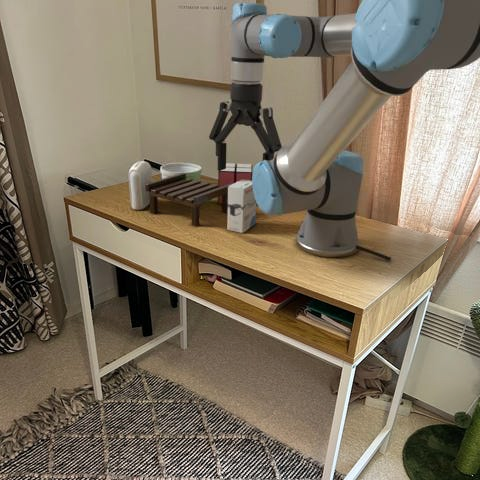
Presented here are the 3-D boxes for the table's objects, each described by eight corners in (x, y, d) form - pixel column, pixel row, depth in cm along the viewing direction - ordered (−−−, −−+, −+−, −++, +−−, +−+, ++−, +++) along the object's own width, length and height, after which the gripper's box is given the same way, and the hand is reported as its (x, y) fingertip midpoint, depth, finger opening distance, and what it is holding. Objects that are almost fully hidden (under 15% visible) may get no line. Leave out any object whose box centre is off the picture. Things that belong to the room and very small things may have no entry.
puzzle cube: (250, 205, 146) (252, 172, 141) (217, 204, 146) (218, 170, 141) (250, 195, 155) (252, 163, 150) (219, 194, 155) (220, 162, 150)
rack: (232, 212, 141) (233, 184, 136) (197, 227, 129) (197, 197, 125) (183, 199, 149) (183, 172, 145) (147, 212, 138) (145, 183, 134)
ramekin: (174, 181, 166) (173, 160, 162) (208, 186, 162) (208, 165, 158) (153, 191, 156) (152, 169, 152) (189, 197, 151) (189, 174, 148)
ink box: (240, 220, 135) (241, 178, 129) (256, 223, 133) (258, 181, 127) (226, 230, 128) (227, 185, 122) (242, 233, 127) (244, 189, 120)
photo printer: (141, 199, 148) (138, 157, 142) (155, 200, 148) (152, 158, 141) (129, 209, 139) (125, 166, 133) (143, 211, 139) (140, 167, 132)
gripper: (301, 86, 109) (292, 180, 120) (214, 76, 121) (213, 163, 132) (284, 89, 104) (277, 187, 115) (194, 78, 116) (195, 168, 127)
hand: (243, 174), depth 124 cm, fingers open, 13 cm apart
